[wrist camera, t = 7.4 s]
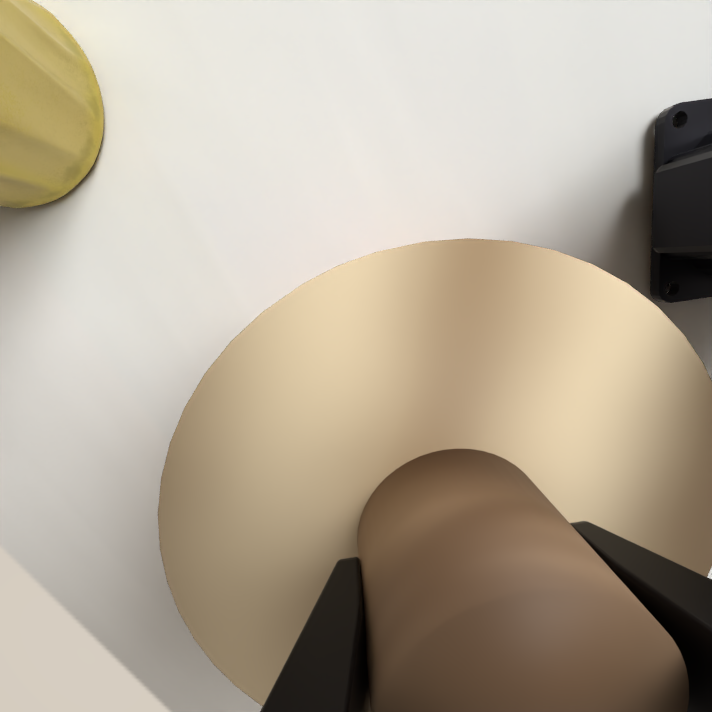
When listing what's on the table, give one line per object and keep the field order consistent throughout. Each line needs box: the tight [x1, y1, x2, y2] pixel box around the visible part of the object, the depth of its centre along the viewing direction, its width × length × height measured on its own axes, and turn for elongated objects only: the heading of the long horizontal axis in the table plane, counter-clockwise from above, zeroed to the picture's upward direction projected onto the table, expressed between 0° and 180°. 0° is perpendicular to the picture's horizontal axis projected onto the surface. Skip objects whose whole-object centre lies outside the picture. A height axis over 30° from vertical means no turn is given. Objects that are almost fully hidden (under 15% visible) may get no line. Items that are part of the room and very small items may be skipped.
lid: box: [158, 239, 712, 712], centre depth 7 cm, size 12×12×4 cm
